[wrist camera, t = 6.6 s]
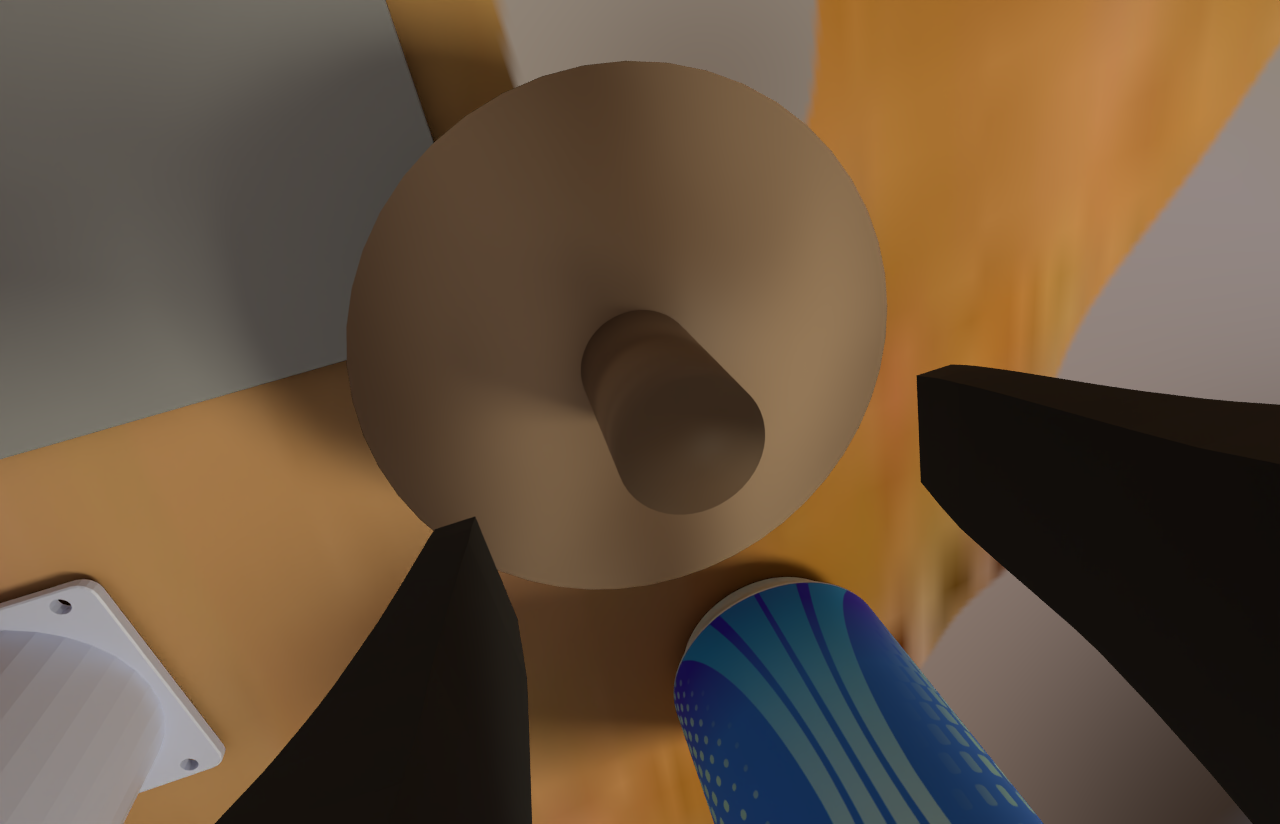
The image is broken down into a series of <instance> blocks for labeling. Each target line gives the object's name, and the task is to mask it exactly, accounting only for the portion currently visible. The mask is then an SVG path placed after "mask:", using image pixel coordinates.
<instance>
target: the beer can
mask: <svg viewBox="0 0 1280 824" xmlns="http://www.w3.org/2000/svg"><path fill="white" fill-rule="evenodd" d="M674 703H675V708H676V712H677V715H678V718H679V721H680V724H681V727H682V730H683V733H684V735H685V738H686V741H687V744H688V747H689V750H690V753H691V756H692V759H693V762H694V765H695V768H696V771H697V774H698V777H699V780H700V783H701V786H702V788H703V791H704V794H705V797H706V800H707V803H708V806H709V809H710V812H711V815H712V818H713V821H714V824H1043V823H1042V821H1041V820H1040V819H1039V817H1038V816H1037V815H1036V814H1035V813H1034V811H1033V810H1032V809H1031V808H1030V806H1029V805H1028V804H1027V803H1026V801H1025V800H1024V799H1023V798H1022V796H1021V795H1020V794H1019V793H1018V791H1017V790H1016V789H1015V788H1014V786H1013V785H1012V784H1011V783H1010V781H1009V780H1008V779H1007V778H1006V776H1005V775H1004V774H1003V773H1002V771H1001V770H1000V769H999V768H998V766H997V765H996V764H995V763H994V762H993V760H992V759H991V758H990V756H989V755H988V754H987V753H986V752H985V750H984V749H983V748H982V747H981V745H980V744H979V743H978V742H977V740H976V739H975V738H974V737H973V735H972V734H971V733H970V732H969V730H968V729H967V728H966V727H965V725H964V724H963V723H962V722H961V720H960V719H959V718H958V717H957V715H956V714H955V713H954V712H953V710H952V709H951V708H950V707H949V705H948V704H947V703H946V702H945V700H944V699H943V698H942V697H941V696H940V694H939V693H938V692H937V691H936V689H934V687H933V686H932V684H931V683H930V682H929V681H928V679H927V678H926V677H925V676H924V674H923V673H922V672H921V671H920V669H919V668H918V667H917V666H916V664H915V663H914V662H913V661H912V659H911V658H910V657H909V656H908V654H907V653H906V652H905V651H904V649H903V648H902V647H901V646H900V645H899V643H898V642H897V641H896V640H895V638H894V637H893V636H892V635H891V633H890V632H889V631H888V630H887V628H886V627H885V626H884V625H883V623H882V622H881V621H880V620H879V618H878V617H877V616H876V615H875V613H874V612H873V611H872V610H871V608H870V607H869V606H868V605H867V604H866V603H865V602H864V601H863V600H862V599H861V598H860V597H858V596H857V595H856V594H854V593H853V592H851V591H849V590H847V589H845V588H842V587H840V586H837V585H833V584H830V583H824V582H817V581H812V580H809V579H804V578H798V577H778V578H771V579H766V580H762V581H758V582H755V583H752V584H750V585H747V586H745V587H743V588H741V589H739V590H737V591H735V592H733V593H731V594H730V595H728V596H727V597H725V598H724V599H722V600H721V601H720V602H718V603H717V604H716V605H715V606H714V607H713V608H711V609H710V610H709V611H708V613H707V614H706V615H705V616H704V617H703V618H702V619H701V621H700V622H699V623H698V625H697V626H696V628H695V629H694V631H693V633H692V635H691V636H690V639H689V641H688V643H687V646H686V649H685V653H684V655H683V657H682V659H681V662H680V664H679V667H678V670H677V673H676V677H675V682H674Z"/></svg>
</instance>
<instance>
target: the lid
mask: <svg viewBox="0 0 1280 824" xmlns="http://www.w3.org/2000/svg"><path fill="white" fill-rule="evenodd" d="M886 317H887V297H886V283H885V272H884V267H883V262H882V257H881V252H880V247H879V242H878V239H877V236H876V233H875V231H874V228H873V225H872V222H871V219H870V216H869V213H868V211H867V208H866V206H865V204H864V202H863V201H862V199H861V197H860V195H859V193H858V191H857V189H856V187H855V185H854V183H853V181H852V179H851V178H850V176H849V175H848V174H847V172H846V171H845V169H844V168H843V167H842V165H841V164H840V162H839V161H838V160H837V158H836V157H835V155H834V154H833V153H832V151H831V150H830V149H829V148H828V147H827V146H826V145H825V144H824V143H823V142H822V141H821V140H820V139H819V138H818V137H817V136H816V134H815V133H814V132H813V131H812V130H811V129H810V128H809V127H808V126H807V125H806V124H804V123H803V122H802V121H801V120H799V119H798V118H796V117H795V116H794V115H793V114H791V113H790V112H789V111H787V110H786V109H785V108H784V107H782V106H781V105H780V104H778V103H777V102H775V101H773V100H772V99H770V98H768V97H766V96H764V95H762V94H761V93H759V92H757V91H755V90H753V89H751V88H750V87H748V86H746V85H744V84H742V83H739V82H736V81H733V80H731V79H728V78H725V77H723V76H720V75H717V74H714V73H712V72H708V71H706V70H700V69H696V68H691V67H685V66H680V65H675V64H671V63H660V62H636V61H621V62H612V63H603V64H594V65H584V66H580V67H576V68H572V69H569V70H565V71H561V72H557V73H553V74H549V75H546V76H542V77H540V78H537V79H535V80H533V81H530V82H528V83H526V84H523V85H521V86H519V87H516V88H514V89H512V90H509V91H507V92H505V93H502V94H501V95H499V96H497V97H496V98H494V99H492V100H491V101H489V102H488V103H486V104H484V105H483V106H481V107H480V108H478V109H476V110H475V111H473V112H471V113H470V114H468V115H467V116H465V117H464V118H463V119H461V120H460V121H459V122H458V123H457V124H455V125H454V126H453V127H452V128H451V129H449V130H448V131H447V132H446V133H445V134H444V135H442V136H441V137H440V138H439V139H438V140H436V141H435V142H434V143H433V144H432V145H431V146H430V147H429V148H428V149H427V150H426V151H425V153H424V154H423V155H422V156H421V157H420V158H419V159H418V161H417V162H416V163H415V164H414V165H413V166H412V167H411V168H410V170H409V171H408V172H407V173H406V174H405V175H404V176H403V178H402V179H401V181H400V182H399V184H398V185H397V187H396V188H395V190H394V192H393V193H392V195H391V196H390V198H389V199H388V201H387V202H386V204H385V205H384V207H383V208H382V210H381V212H380V213H379V216H378V218H377V220H376V222H375V224H374V226H373V229H372V231H371V233H370V235H369V237H368V240H367V242H366V244H365V246H364V248H363V251H362V254H361V258H360V261H359V265H358V268H357V272H356V275H355V278H354V282H353V285H352V289H351V296H350V304H349V311H348V319H347V326H346V340H347V369H348V375H349V381H350V388H351V394H352V400H353V404H354V407H355V410H356V413H357V416H358V420H359V423H360V426H361V429H362V432H363V435H364V437H365V439H366V442H367V444H368V446H369V448H370V450H371V452H372V454H373V456H374V458H375V460H376V462H377V464H378V466H379V468H380V469H381V471H382V472H383V474H384V475H385V477H386V478H387V480H388V481H389V483H390V484H391V486H392V487H393V488H394V490H395V491H396V493H397V494H398V496H399V497H400V498H401V499H402V500H403V501H404V502H405V503H406V504H407V506H408V507H409V508H410V509H411V510H412V511H413V512H414V513H415V514H416V516H417V517H418V518H419V519H420V520H421V521H423V522H424V523H425V524H426V525H427V526H428V527H430V528H431V529H432V530H433V531H434V530H435V529H437V528H440V527H443V526H446V525H450V524H453V523H456V522H459V521H462V520H465V519H468V518H472V517H476V519H477V522H478V524H479V527H480V529H481V532H482V534H483V536H484V539H485V541H486V544H487V546H488V549H489V551H490V553H491V556H492V558H493V561H494V563H495V566H496V568H497V570H499V571H502V572H505V573H508V574H511V575H514V576H517V577H520V578H523V579H526V580H529V581H534V582H538V583H543V584H548V585H553V586H558V587H567V588H578V589H622V588H630V587H638V586H646V585H651V584H656V583H660V582H664V581H668V580H672V579H677V578H680V577H683V576H686V575H689V574H691V573H694V572H697V571H700V570H703V569H706V568H708V567H710V566H712V565H714V564H717V563H719V562H721V561H723V560H725V559H727V558H729V557H732V556H734V555H735V554H737V553H739V552H740V551H742V550H744V549H745V548H747V547H749V546H750V545H752V544H754V543H755V542H757V541H759V540H760V539H761V538H763V537H764V536H766V535H767V534H768V533H770V532H771V531H772V530H774V529H775V528H776V527H778V526H779V525H780V524H782V523H783V522H784V521H785V520H786V519H787V518H788V517H790V516H791V515H792V514H793V513H794V512H795V511H796V510H797V509H798V508H799V507H800V506H802V505H803V504H804V503H805V502H806V501H807V500H808V498H809V497H810V496H811V495H812V494H813V493H814V492H815V491H816V489H817V488H818V487H819V486H820V485H821V484H822V483H823V482H824V480H825V479H826V478H827V477H828V475H829V474H830V472H831V471H832V470H833V468H834V467H835V465H836V464H837V463H838V461H839V460H840V458H841V457H842V456H843V454H844V452H845V451H846V449H847V447H848V445H849V444H850V442H851V440H852V438H853V437H854V435H855V433H856V431H857V429H858V428H859V425H860V423H861V421H862V418H863V416H864V414H865V411H866V409H867V407H868V404H869V402H870V400H871V397H872V393H873V390H874V387H875V383H876V380H877V377H878V374H879V370H880V365H881V360H882V354H883V348H884V343H885V335H886Z"/></svg>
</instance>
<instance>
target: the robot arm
mask: <svg viewBox="0 0 1280 824" xmlns="http://www.w3.org/2000/svg"><path fill="white" fill-rule="evenodd" d="M917 397H918V422H919V447H920V471H921V483H922V484H923V485H924V486H925V488H926V489H927V490H928V491H929V492H930V494H931V495H932V496H933V497H934V499H935V500H936V501H937V502H938V503H939V505H940V506H941V507H942V508H943V509H944V510H945V512H946V513H947V514H948V515H949V516H950V517H951V518H952V519H953V520H954V522H955V523H956V524H957V525H958V526H959V527H960V528H961V529H962V530H963V531H964V532H965V533H966V534H967V535H968V536H970V537H971V538H972V539H973V540H974V541H975V542H976V543H977V544H978V545H980V546H981V547H982V548H983V549H984V550H985V551H986V552H987V553H989V554H990V555H991V556H992V557H993V558H994V559H995V560H996V561H998V562H999V563H1000V564H1001V565H1002V566H1003V567H1004V568H1006V569H1007V570H1008V571H1009V572H1010V573H1011V574H1013V575H1014V576H1015V577H1016V578H1017V579H1018V580H1019V581H1021V582H1022V583H1023V584H1024V585H1025V586H1026V587H1028V588H1029V589H1030V590H1031V591H1032V592H1033V593H1034V594H1036V595H1037V596H1038V597H1039V598H1040V599H1041V600H1042V601H1044V602H1045V603H1046V604H1047V605H1048V606H1049V607H1050V608H1052V609H1053V610H1054V611H1055V612H1056V613H1057V614H1059V615H1060V616H1061V617H1062V618H1063V619H1064V620H1065V621H1067V622H1068V623H1069V624H1070V625H1071V626H1072V627H1074V629H1076V630H1077V631H1078V632H1079V633H1080V634H1081V635H1082V636H1083V637H1084V638H1085V639H1086V640H1087V641H1088V642H1089V643H1090V644H1091V645H1093V646H1094V647H1095V648H1096V649H1097V650H1098V651H1099V652H1100V653H1101V654H1102V655H1103V656H1104V657H1105V658H1106V659H1107V660H1108V662H1109V663H1110V664H1111V665H1112V666H1113V667H1114V668H1115V669H1116V670H1117V671H1118V672H1119V673H1120V674H1121V675H1122V676H1123V677H1124V678H1125V679H1126V680H1127V682H1128V683H1129V684H1130V685H1131V686H1132V687H1133V688H1134V689H1135V690H1136V691H1137V692H1138V693H1139V694H1140V695H1141V696H1142V697H1143V699H1144V700H1145V701H1146V702H1147V703H1148V704H1149V705H1150V706H1151V707H1152V708H1153V709H1154V710H1155V711H1156V713H1157V714H1158V715H1159V716H1160V717H1161V718H1162V719H1163V720H1164V722H1165V723H1166V724H1167V725H1168V726H1169V727H1170V728H1171V729H1172V730H1173V732H1174V733H1175V734H1176V735H1177V736H1178V737H1179V738H1180V740H1181V741H1182V742H1183V743H1184V744H1185V745H1186V746H1187V747H1188V748H1189V750H1190V751H1191V752H1192V753H1193V754H1194V755H1195V756H1196V757H1197V759H1198V760H1199V761H1200V762H1201V763H1202V764H1203V765H1204V766H1205V768H1206V769H1207V770H1208V771H1209V772H1210V773H1211V774H1212V776H1213V777H1214V778H1215V779H1216V780H1217V782H1218V783H1219V784H1220V785H1221V786H1222V787H1223V789H1224V790H1225V791H1226V792H1227V793H1228V795H1229V796H1230V797H1231V798H1232V799H1233V801H1234V802H1235V803H1236V804H1237V806H1239V808H1240V809H1241V810H1242V811H1243V812H1244V814H1245V815H1246V816H1247V817H1248V819H1249V820H1250V821H1251V822H1252V823H1253V824H1280V405H1276V404H1262V403H1247V402H1233V401H1223V400H1213V399H1203V398H1194V397H1186V396H1176V395H1169V394H1161V393H1152V392H1145V391H1138V390H1131V389H1124V388H1117V387H1109V386H1103V385H1097V384H1090V383H1084V382H1078V381H1071V380H1065V379H1059V378H1053V377H1047V376H1041V375H1034V374H1028V373H1022V372H1016V371H1009V370H1002V369H995V368H988V367H979V366H969V365H948V366H945V367H942V368H939V369H936V370H933V371H930V372H926V373H923V374H920V375H917ZM59 599H61V600H65V601H67V602H69V603H70V604H71V605H65V604H62V603H61V602H59V601H58V600H59ZM224 754H225V747H224V745H223V743H222V742H221V741H220V739H219V738H218V737H217V736H216V734H215V733H214V732H213V730H212V729H211V728H210V726H209V725H208V724H207V722H206V721H205V720H204V719H203V717H202V716H201V715H200V713H199V712H198V711H197V709H196V708H195V707H194V705H193V704H192V703H191V702H190V700H189V699H188V698H187V696H186V695H185V694H184V692H183V691H182V690H181V688H180V687H179V686H178V685H177V683H176V682H175V681H174V679H173V678H172V677H171V675H170V674H169V673H168V671H167V670H166V669H165V668H164V666H163V665H162V664H161V662H160V661H159V660H158V658H157V657H156V656H155V654H154V653H153V652H152V651H151V649H150V648H149V647H148V645H147V644H146V643H145V641H144V640H143V639H142V637H141V636H140V635H139V634H138V632H137V631H136V630H135V628H134V627H133V626H132V624H131V623H130V622H129V620H128V619H127V618H126V617H125V615H124V614H123V613H122V611H121V610H120V609H119V607H118V606H117V605H116V604H115V602H114V601H113V600H112V598H111V597H110V596H109V594H108V593H107V592H106V590H105V589H104V588H103V587H102V586H101V585H100V584H99V583H97V582H94V581H92V580H86V579H80V580H74V581H71V582H68V583H64V584H61V585H58V586H55V587H51V588H48V589H45V590H42V591H38V592H35V593H32V594H29V595H25V596H22V597H19V598H16V599H12V600H9V601H6V602H3V603H0V824H123V823H124V821H125V819H126V817H127V815H128V813H129V811H130V809H131V807H132V805H133V803H134V801H135V799H136V797H137V795H138V793H141V792H144V791H146V790H149V789H152V788H155V787H158V786H161V785H164V784H167V783H170V782H173V781H175V780H178V779H181V778H184V777H187V776H190V775H193V774H196V773H199V772H202V771H204V770H207V769H210V768H213V767H215V766H217V765H219V763H220V762H221V761H222V759H223V756H224ZM190 759H194V760H190ZM215 824H532V807H531V777H530V746H529V717H528V691H527V676H526V669H525V663H524V656H523V650H522V644H521V638H520V632H519V626H518V620H517V617H516V614H515V612H514V609H513V607H512V605H511V602H510V600H509V597H508V595H507V592H506V590H505V588H504V585H503V583H502V580H501V578H500V575H499V573H498V571H497V568H496V566H495V563H494V561H493V558H492V556H491V553H490V551H489V549H488V546H487V544H486V541H485V539H484V536H483V534H482V532H481V529H480V527H479V524H478V522H477V519H476V517H472V518H468V519H465V520H462V521H459V522H456V523H453V524H450V525H446V526H443V527H440V528H437V529H435V530H434V531H433V533H432V534H431V536H430V538H429V539H428V541H427V542H426V544H425V546H424V547H423V549H422V551H421V553H420V554H419V556H418V558H417V559H416V561H415V563H414V564H413V566H412V568H411V569H410V571H409V573H408V574H407V576H406V578H405V579H404V581H403V583H402V584H401V586H400V588H399V589H398V591H397V593H396V594H395V596H394V597H393V599H392V601H391V602H390V604H389V605H388V607H387V609H386V610H385V612H384V613H383V615H382V617H381V618H380V620H379V621H378V623H377V624H376V626H375V627H374V629H373V630H372V632H371V633H370V635H369V636H368V638H367V639H366V640H365V642H364V643H363V645H362V646H361V648H360V649H359V650H358V652H357V653H356V655H355V656H354V658H353V659H352V660H351V662H350V663H349V665H348V666H347V668H346V669H345V671H344V672H343V673H342V675H341V676H340V678H339V679H338V681H337V682H336V683H335V685H334V686H333V687H332V689H331V690H330V691H329V693H328V694H327V695H326V697H325V698H324V699H323V701H322V702H321V703H320V705H319V706H318V707H317V708H316V710H315V711H314V712H313V713H312V715H311V716H310V717H309V719H308V720H307V721H306V722H305V723H304V725H303V726H302V727H301V728H300V729H299V731H298V732H297V733H296V734H295V735H294V737H293V738H292V739H291V740H290V741H289V743H288V744H287V745H286V746H285V747H284V749H283V750H282V751H281V752H280V753H279V755H278V756H277V757H276V758H275V759H274V760H273V762H272V763H271V764H270V765H269V766H268V767H267V768H266V770H265V771H264V772H263V773H262V774H261V775H260V776H259V777H258V778H257V779H256V780H255V781H254V783H253V784H252V785H251V786H250V787H249V788H248V789H247V790H246V791H245V792H244V793H243V794H242V795H241V796H240V797H239V798H238V800H237V801H236V802H235V803H234V804H233V805H232V806H231V807H230V808H229V809H228V810H227V811H226V812H225V813H224V814H223V815H222V817H221V818H220V819H219V820H218V821H217V822H216V823H215Z"/></svg>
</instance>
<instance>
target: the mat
mask: <svg viewBox="0 0 1280 824" xmlns="http://www.w3.org/2000/svg"><path fill="white" fill-rule="evenodd" d="M433 143H434V141H433V138H432V135H431V132H430V129H429V127H428V124H427V121H426V118H425V115H424V112H423V109H422V106H421V103H420V100H419V97H418V94H417V91H416V88H415V85H414V82H413V79H412V76H411V74H410V71H409V68H408V65H407V62H406V59H405V56H404V53H403V50H402V47H401V44H400V41H399V38H398V35H397V32H396V29H395V26H394V24H393V21H392V18H391V15H390V12H389V9H388V6H387V3H386V0H0V459H3V458H6V457H10V456H13V455H17V454H20V453H24V452H27V451H31V450H34V449H38V448H41V447H45V446H48V445H52V444H55V443H59V442H62V441H66V440H69V439H73V438H76V437H80V436H83V435H87V434H90V433H94V432H97V431H101V430H104V429H108V428H111V427H115V426H118V425H122V424H125V423H128V422H132V421H135V420H139V419H142V418H146V417H149V416H153V415H156V414H160V413H163V412H167V411H170V410H174V409H177V408H181V407H184V406H188V405H191V404H195V403H198V402H202V401H205V400H209V399H212V398H216V397H219V396H223V395H226V394H230V393H233V392H237V391H240V390H244V389H247V388H251V387H254V386H258V385H261V384H265V383H268V382H272V381H275V380H279V379H282V378H286V377H289V376H293V375H296V374H300V373H303V372H307V371H310V370H314V369H317V368H321V367H324V366H327V365H331V364H334V363H338V362H341V361H345V360H347V340H346V326H347V319H348V311H349V304H350V296H351V289H352V285H353V282H354V278H355V275H356V272H357V268H358V265H359V261H360V258H361V254H362V251H363V248H364V246H365V244H366V242H367V240H368V237H369V235H370V233H371V231H372V229H373V226H374V224H375V222H376V220H377V218H378V216H379V213H380V212H381V210H382V208H383V207H384V205H385V204H386V202H387V201H388V199H389V198H390V196H391V195H392V193H393V192H394V190H395V188H396V187H397V185H398V184H399V182H400V181H401V179H402V178H403V176H404V175H405V174H406V173H407V172H408V171H409V170H410V168H411V167H412V166H413V165H414V164H415V163H416V162H417V161H418V159H419V158H420V157H421V156H422V155H423V154H424V153H425V151H426V150H427V149H428V148H429V147H430V146H431V145H432V144H433Z"/></svg>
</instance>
